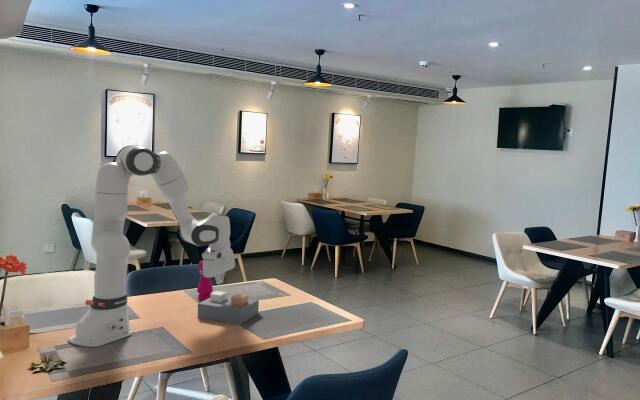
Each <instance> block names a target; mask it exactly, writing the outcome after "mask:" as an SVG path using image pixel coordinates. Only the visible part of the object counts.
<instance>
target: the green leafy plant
mask: <svg viewBox="0 0 640 400" xmlns="http://www.w3.org/2000/svg"><path fill="white" fill-rule="evenodd" d="M54 354H56V352H53V354H52V353H50V354H49V356H48V357H46V356H47V355H45V353H43V354H41V358H39V361H40V360H41V364H42V363H45V362H46V363H47V364H46V363H45V364H46V365H50V364H49V362H51V361H52V362H53V359H55V356H54ZM53 356H54V357H53ZM47 359H48V361H47ZM55 362H58V364H56V365H62V363H59V362H64V360H58V361H55ZM41 364H32V365H31V366H29V367H34V368H33V369H35V368H40V367H35V366H39V365H41ZM46 365H45V366H46ZM56 365H55V366H56ZM55 366H54V367H51V366H50V367H51V369H52V370H54V369H53V368H56V367H55ZM46 368H47V367H46ZM46 368H40V369H41V370H43V369H44V370H43V371H46Z"/></svg>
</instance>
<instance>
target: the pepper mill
mask: <svg viewBox="0 0 640 400" xmlns="http://www.w3.org/2000/svg"><path fill="white" fill-rule="evenodd" d="M203 260H204V258H203V257H202V260H200V261H199V263H198V268H199V274H200V280H199V283H198V285H197V287H196V288H197V289H196V292H197V293H198V295H197V299H198V301H204V300H206V299H208V298H210V294H211V293H213V292H214V291H213V290H214V288H213V284H212V282H211V278H207V277H204V275H203Z"/></svg>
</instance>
